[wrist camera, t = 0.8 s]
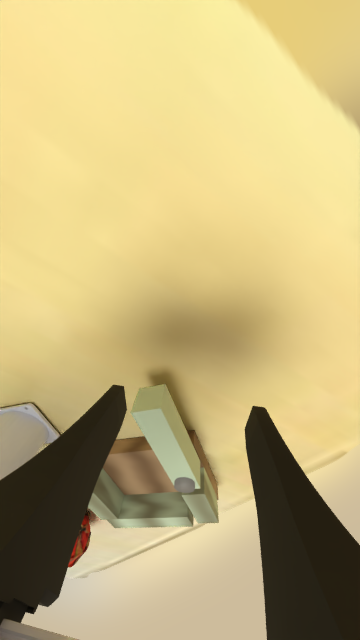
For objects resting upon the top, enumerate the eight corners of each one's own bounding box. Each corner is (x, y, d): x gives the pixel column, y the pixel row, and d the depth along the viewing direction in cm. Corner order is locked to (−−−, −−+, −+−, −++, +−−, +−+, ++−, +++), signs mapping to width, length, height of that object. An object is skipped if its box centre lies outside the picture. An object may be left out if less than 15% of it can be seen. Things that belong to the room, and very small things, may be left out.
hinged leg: (200, 461, 27) (200, 493, 23) (178, 463, 27) (176, 495, 24) (165, 383, 21) (159, 413, 18) (139, 388, 21) (129, 417, 18)
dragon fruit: (66, 511, 47) (93, 485, 44) (82, 552, 44) (112, 527, 41) (24, 545, 39) (54, 517, 36) (40, 597, 36) (74, 571, 33)
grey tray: (120, 490, 37) (109, 528, 32) (82, 444, 31) (62, 482, 27) (217, 484, 33) (220, 525, 29) (194, 430, 27) (193, 471, 23)
